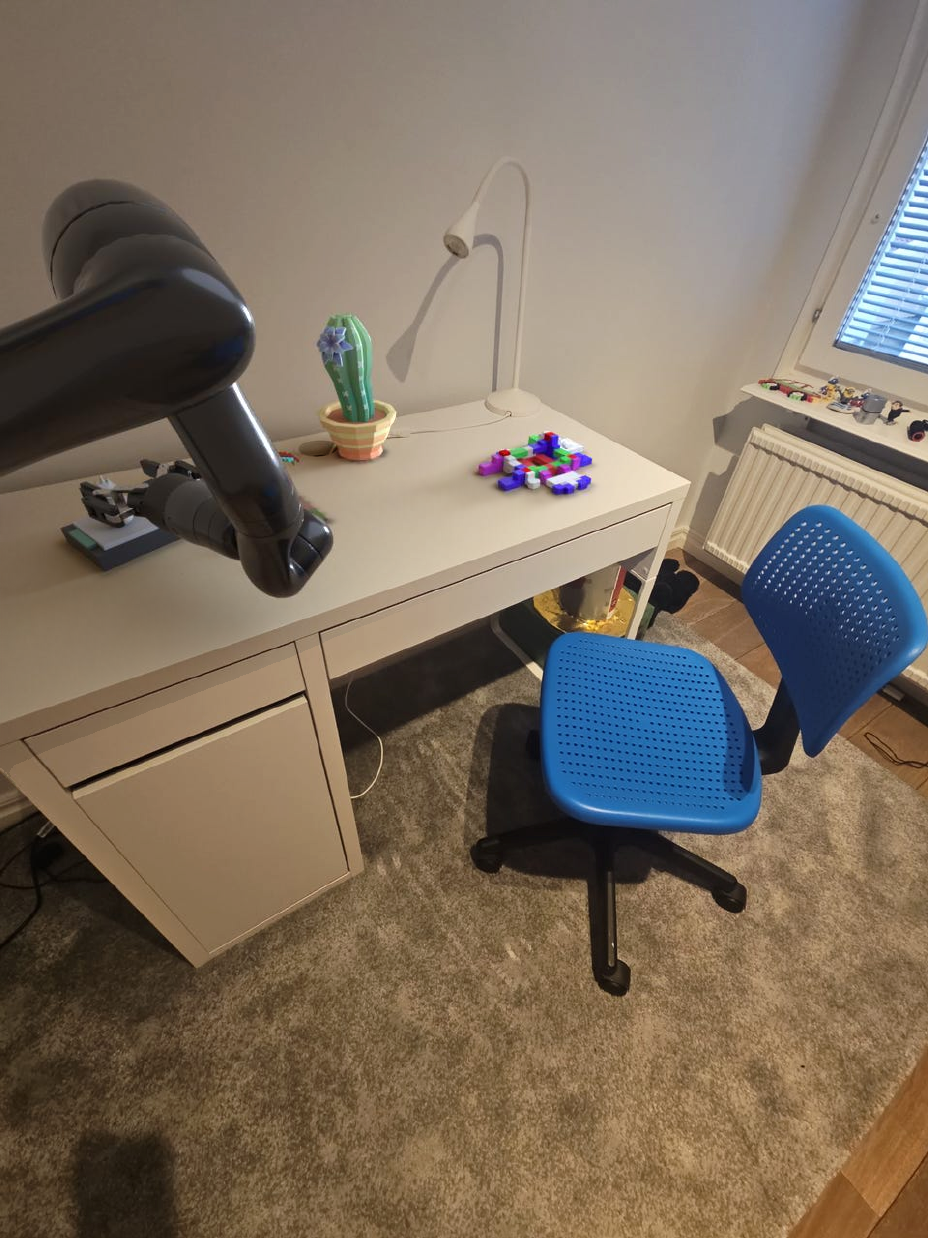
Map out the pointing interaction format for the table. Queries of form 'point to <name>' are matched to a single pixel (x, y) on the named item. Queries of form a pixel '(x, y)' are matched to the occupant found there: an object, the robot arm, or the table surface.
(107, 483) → the white sculpted piece
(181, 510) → the robot arm
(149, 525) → the scale
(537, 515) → the table surface
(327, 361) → the potted cactus
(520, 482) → the building block set
